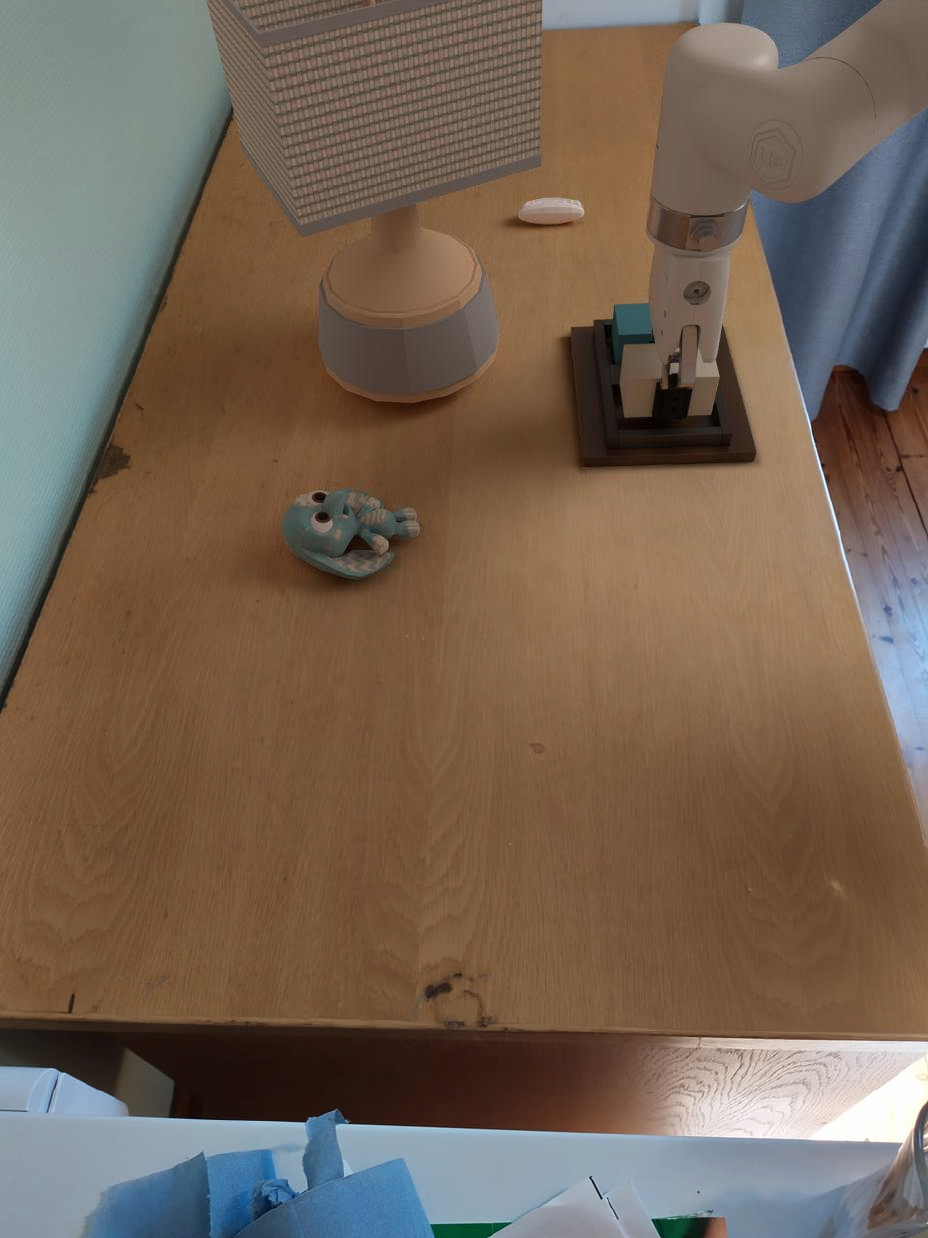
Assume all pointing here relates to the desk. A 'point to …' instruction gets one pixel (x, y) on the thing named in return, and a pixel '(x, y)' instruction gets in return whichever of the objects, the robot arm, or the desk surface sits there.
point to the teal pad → (629, 327)
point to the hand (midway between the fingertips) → (665, 395)
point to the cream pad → (645, 372)
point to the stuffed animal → (344, 531)
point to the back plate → (644, 437)
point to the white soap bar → (551, 211)
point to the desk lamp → (388, 163)
